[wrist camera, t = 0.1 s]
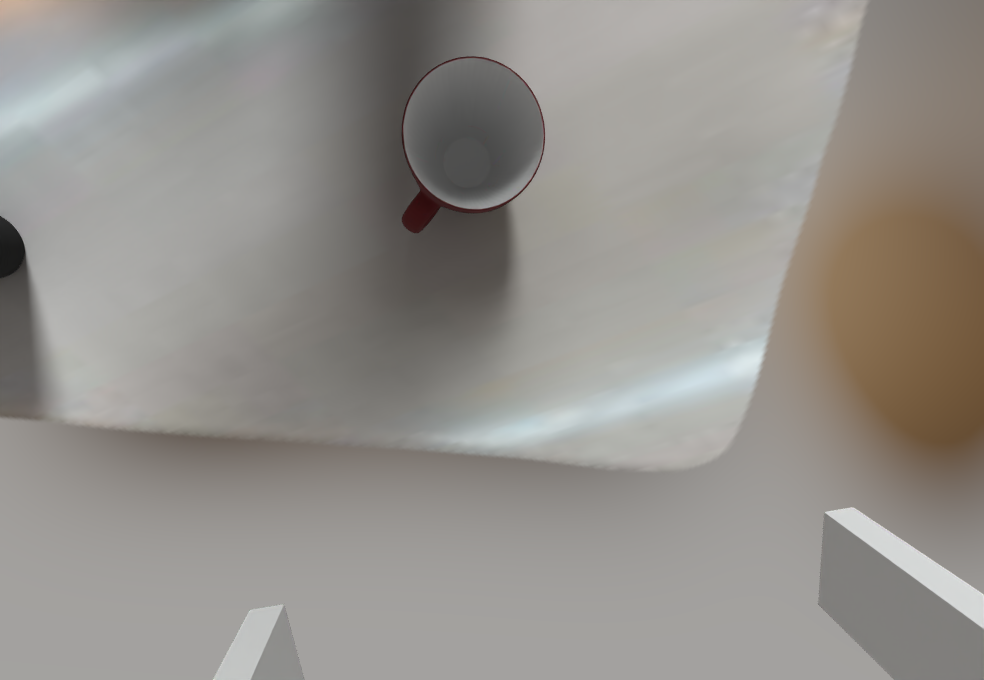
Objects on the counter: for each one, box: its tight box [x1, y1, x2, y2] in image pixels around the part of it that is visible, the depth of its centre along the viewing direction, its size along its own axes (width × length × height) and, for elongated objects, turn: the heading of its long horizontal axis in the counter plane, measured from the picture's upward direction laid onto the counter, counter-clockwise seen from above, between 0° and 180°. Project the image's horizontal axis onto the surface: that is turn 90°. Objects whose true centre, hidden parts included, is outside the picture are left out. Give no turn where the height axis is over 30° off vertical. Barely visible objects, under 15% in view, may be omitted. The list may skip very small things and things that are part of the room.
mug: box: [402, 57, 545, 233], centre depth 30 cm, size 11×8×10 cm
